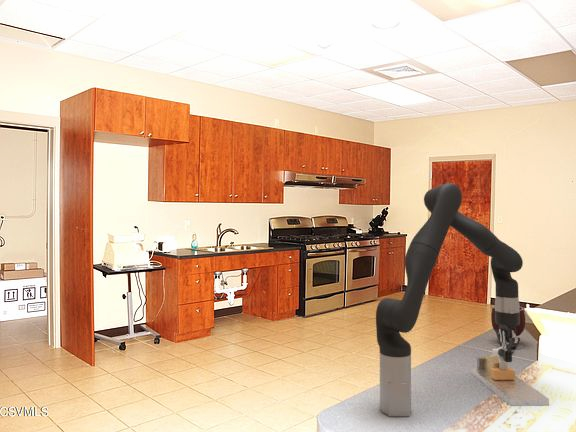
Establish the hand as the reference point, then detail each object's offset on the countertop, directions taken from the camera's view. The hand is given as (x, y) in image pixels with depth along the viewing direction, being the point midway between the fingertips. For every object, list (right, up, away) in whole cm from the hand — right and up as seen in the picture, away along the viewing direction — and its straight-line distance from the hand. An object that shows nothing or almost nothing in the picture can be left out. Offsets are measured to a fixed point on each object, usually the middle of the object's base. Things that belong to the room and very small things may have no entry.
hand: (507, 361), depth 158 cm
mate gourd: (+25, -9, +53) cm, 60 cm away
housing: (0, -7, +9) cm, 12 cm away
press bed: (0, -9, +1) cm, 9 cm away
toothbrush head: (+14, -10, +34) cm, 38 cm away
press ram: (0, -7, +3) cm, 8 cm away
